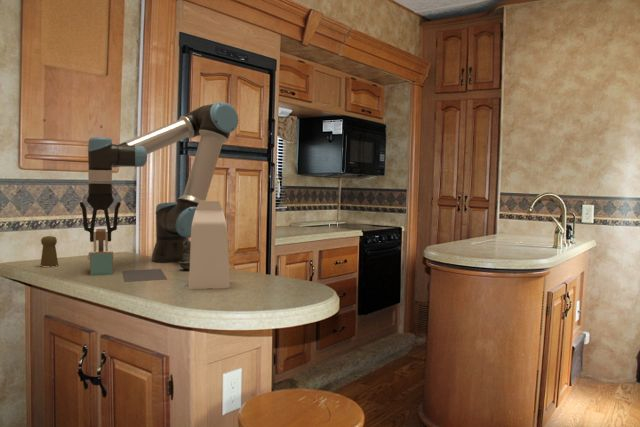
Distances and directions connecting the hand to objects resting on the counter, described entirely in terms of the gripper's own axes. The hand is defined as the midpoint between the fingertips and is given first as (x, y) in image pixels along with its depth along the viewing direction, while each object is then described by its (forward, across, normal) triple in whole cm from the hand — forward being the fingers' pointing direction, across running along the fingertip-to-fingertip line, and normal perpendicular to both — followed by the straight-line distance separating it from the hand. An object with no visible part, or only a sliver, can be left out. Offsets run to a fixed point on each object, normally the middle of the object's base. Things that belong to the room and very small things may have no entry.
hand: (100, 251), depth 188 cm
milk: (+8, -32, +34) cm, 47 cm away
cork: (+8, +18, -21) cm, 29 cm away
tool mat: (+7, -13, +13) cm, 20 cm away
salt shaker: (+8, -28, +7) cm, 30 cm away
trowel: (+2, 0, -1) cm, 2 cm away
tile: (+8, 0, +7) cm, 10 cm away
